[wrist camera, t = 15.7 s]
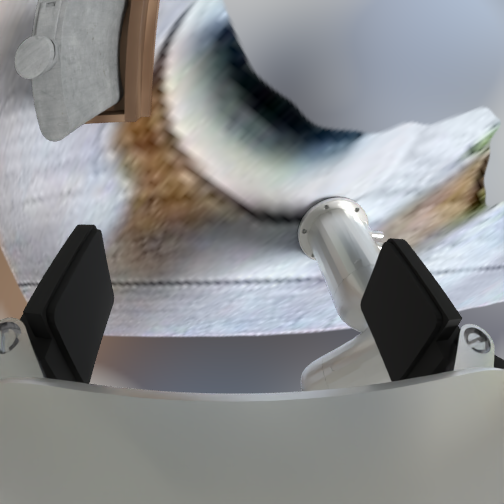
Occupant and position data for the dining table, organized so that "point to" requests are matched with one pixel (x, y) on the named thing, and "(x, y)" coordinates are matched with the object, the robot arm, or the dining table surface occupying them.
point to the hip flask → (73, 62)
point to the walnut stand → (135, 63)
